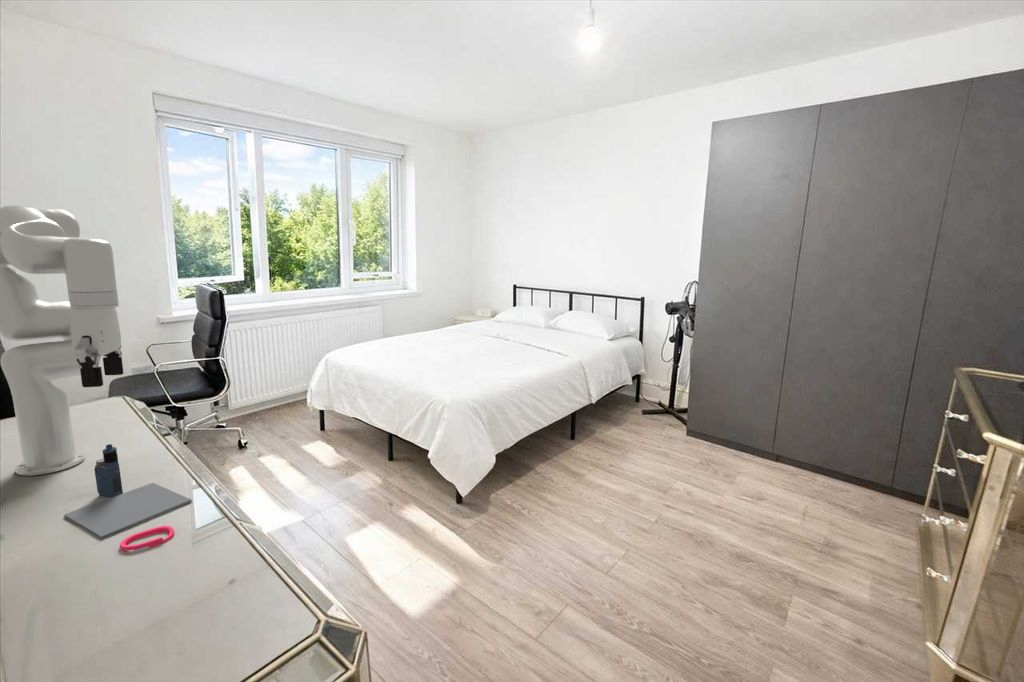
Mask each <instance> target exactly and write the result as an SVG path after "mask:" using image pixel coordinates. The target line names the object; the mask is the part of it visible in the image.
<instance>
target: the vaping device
mask: <svg viewBox="0 0 1024 682" xmlns="http://www.w3.org/2000/svg"><path fill="white" fill-rule="evenodd" d="M102 457H103V458H101V459H97V460H96V461H95V464H96V465H95V466H94V477H95V482H96V490H97V494H98V495H99V497H102V498H103V497H104V498H108V499H109V498H112V497H114V496H117V495H120V494H123V493H124V491H123V486H122V485H123V484H122V477H121V476H122V475H121V471H120V470H121V469H120V463H119V457H118V450H117V447H116V446H113V444H112V443H111V444H106V445H105V448H104V449H102Z"/></svg>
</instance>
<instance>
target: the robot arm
mask: <svg viewBox="0 0 1024 682" xmlns="http://www.w3.org/2000/svg"><path fill="white" fill-rule="evenodd" d="M80 236H81V228H80V224H79V221H78V220H77V218H76V217H75V215H73V214H71V212H69V211H67V210H65V209H61V208H50V207H41V206H40V207H39V206H29V205H27V206H26V205H6V206H2V207H0V334H1V336H2V337H3V338H4V339H6V340H8V341H12V342H13V341H14V342H24V341H37V340H38V341H39V340H49V339H58V338H61V339H63V340H58V341H46V342H37V343H27V344H21V345H16V346H13V347H11V348H9V349H7V350H6V351H4V352H3V353H2V354H1V357H0V367H1V369H2V372H3V374H4V377H5V379H6V381H7V384H8V387H9V389H10V394H11V396H12V402H13V409H14V414H15V421H16V425H17V431H18V437H19V443H20V448H21V449H20V451H21V455H22V461H23V462H21V463H20V464H18V465H17V466H16V467H15V473H16V474H17V475H19V476H39V475H40V476H41V475H46V474H52V473H56V472H59V471H60V472H61V471H64V470H66V469H70V468H72V467H75V466H77V465H78V464H81V463H82V462H83V461H85V459H86V456H85V453H84V452H82V451H78V450H77V451H76V443H75V437H74V431H73V425H72V424H73V423H72V417H71V413H70V412H71V411H70V404H69V398H68V395H67V393H66V392H65V391H64V390H62V389H61V388H59V387H58V386H57V385H55V384H53V383H52V382H53V381H55V380H60V379H66V378H72V377H78V376H79V377H80V378H81V385H82V388H96V387H97V388H99V387H103V386H104V379H103V378H104V377H103V371H104V375H105V376H120V375H124V366H123V357H122V355H123V352H122V350H121V349H122V337H121V336H122V335H121V329H120V323H119V317H118V313H117V309H116V308H117V307H119V306H120V305H119V295H118V287H117V280H116V271H115V270H116V269H115V263H114V262H115V261H114V260H115V259H114V254H113V253H114V252H113V247H112V245H111V243H110V241H108V240H104V239H98V238H96V239H95V238H87V237H80ZM9 266H12V267H14V268H15V269H17V270H18V271H21V272H24V273H27V274H32V275H34V274H36V275H38V274H39V275H43V274H44V275H45V274H46V275H47V274H48V275H49V274H51V275H52V274H58V275H59V274H60V275H61V274H62V275H63V274H64V275H65V280H66V286H67V287H66V289H67V294H68V300H52V301H51V300H50V301H42V300H41V299H40V298H39V294H38V293H37V289H36V287H35V284H34V282H32V281H31V280H30V279H29V278H27V277H26V276H25V275H23V274H22V273H20V272H18V271H16V270H15V269H14V268H11V267H9ZM101 357H102V363H103V364H102V365H103V370H102V366H100V360H101Z"/></svg>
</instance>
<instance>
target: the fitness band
mask: <svg viewBox="0 0 1024 682" xmlns="http://www.w3.org/2000/svg"><path fill="white" fill-rule="evenodd" d="M160 533H168V535H167V536H166V537H165V538H164V537H163V536H159V537H156V538H154V539H150V540H148V541H145V542H141V543H137V544H132V545H131V544H130V543H132V542H134V541H136V540H140V539H142V538H145V537H150V536H152V535H155V534H160ZM174 536H175V530H174V528H173V527H172V526H171V525H160V526H156V527H151V528H149V529H146V530H143V531H140V532H137V533H133V534H131V535H129V536H126V537H125V538H124V539H123V540H122V541H120V543H119V548H120V550H121V551H124V552H128V551H129V552H130V551H134V553H137V552H141V551H144V550H147V549H151V548H155V547H157V546H160V545H163V544H165V543H166V542H168V541H171V539H173V538H174Z"/></svg>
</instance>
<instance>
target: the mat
mask: <svg viewBox="0 0 1024 682" xmlns="http://www.w3.org/2000/svg"><path fill="white" fill-rule="evenodd" d="M192 502H193V501H192V499H191V498H189V497H187V496H184V495H182V494H179V493H177V492H175V491H174V490H171V489H168V488H167V487H163V486H161V485H159V484H157V483H155V482H151V483H147V484H145V485H142V486H141V487H140V486H139V487H137V488H134V489H132V490H129V491H126V492H123V494H120V495H117V496H114V497H112V498H109V497H108V498H107V499H106V498H105V499H103V500H101V501H97V502H95V503H92V504H90V505H89V504H88V505H87V506H84V507H82V508H78V509H76V510H73V511H69V512H67V513H64V514H63V516H64V518H65V519H67V520H69V521H71V522H72V523H73V524H75V525H77V526H78V527H80V528H82V529H84V530H85V531H87V532H89V533H90V534H92V535H94V536H95V537H97V538H98V539H100V540H104V539H106V538H109V537H111V536H113V535H115V534H118V533H120V532H123V531H125V530H128V529H130V528H133V527H135V526H137V525H140V524H142V523H145V522H146V521H150V520H152V519H154V518H157V517H159V516H162V515H164V514H167V513H169V512H171V511H174V510H176V509H179V508H181V507H183V506H186V505H187V504H190V503H192Z"/></svg>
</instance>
